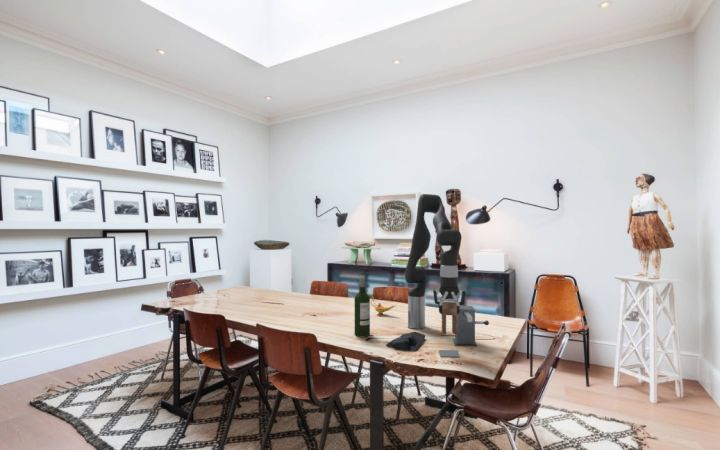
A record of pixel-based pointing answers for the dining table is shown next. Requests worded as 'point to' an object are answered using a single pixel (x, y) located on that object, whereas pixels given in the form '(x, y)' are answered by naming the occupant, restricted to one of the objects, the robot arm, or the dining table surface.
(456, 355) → the felt pad
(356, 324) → the wine bottle
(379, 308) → the magic lamp
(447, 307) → the slotted wooden collar
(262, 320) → the dining table surface
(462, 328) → the vise stand
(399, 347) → the dark slate chunk
